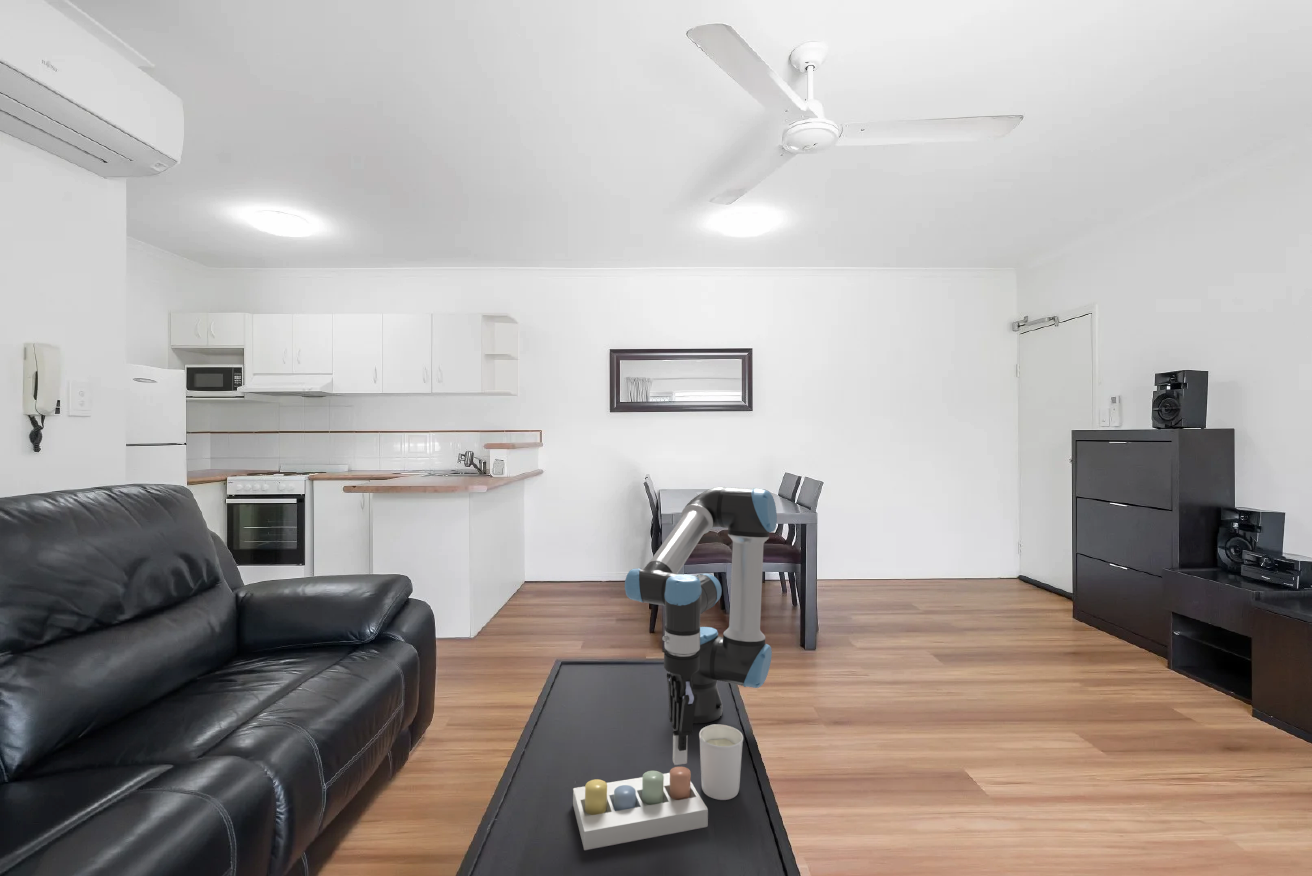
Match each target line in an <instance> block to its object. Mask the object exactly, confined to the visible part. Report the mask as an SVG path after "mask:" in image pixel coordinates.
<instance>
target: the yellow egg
mask: <svg viewBox="0 0 1312 876" xmlns="http://www.w3.org/2000/svg"><path fill="white" fill-rule="evenodd" d="M607 783H608V782H606V781H605V780H602V779H600V778H599V779H598V778H597V779H591V780H589V781H587V782H586V783H585V811H586V812H587V813H588V814H590V815H596V814H602V813H604V812H605V811H606V809H607Z"/></svg>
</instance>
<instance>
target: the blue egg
mask: <svg viewBox="0 0 1312 876" xmlns="http://www.w3.org/2000/svg"><path fill="white" fill-rule="evenodd" d="M635 799H636V791H635V789H634V788H633V787H632V786H629V785H622V786H619V787H617V788H616V789H615V790H614V810H615V811H619V810H625V809H631V808H635Z"/></svg>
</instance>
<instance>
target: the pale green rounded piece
mask: <svg viewBox="0 0 1312 876" xmlns="http://www.w3.org/2000/svg"><path fill="white" fill-rule="evenodd" d="M663 774H664V773H662V772H660V771H657V770H648V771H646V772H644V773H643V774H642V777H643V779H642V800H643V802H644V803H646V804H648V805H654V804H660V803H661V802H662V801H663V785H664V776H663Z"/></svg>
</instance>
